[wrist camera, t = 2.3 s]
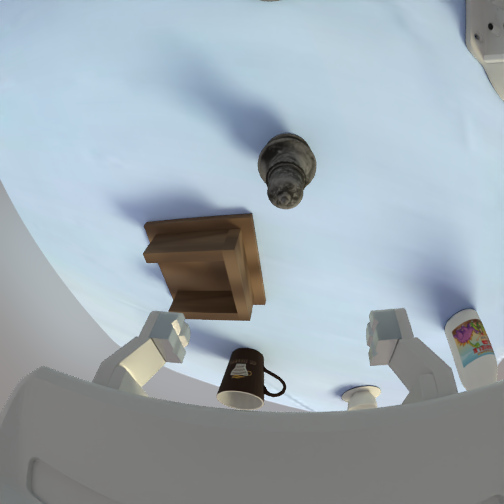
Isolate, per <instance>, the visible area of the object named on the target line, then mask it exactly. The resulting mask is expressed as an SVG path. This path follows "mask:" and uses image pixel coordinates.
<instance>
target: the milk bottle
mask: <svg viewBox="0 0 504 504" xmlns="http://www.w3.org/2000/svg"><path fill="white" fill-rule="evenodd" d="M445 334H446V337H447V340H448V343H449V346H450V349H451V352H452V355H453V358H454V362H455V365H456V368H457V371H458V374H459V377H460V380H461V382H462V384H463V386H464V388H465V389H466V390H467V391H468V390H472V389H475V388H479V387H482V386H486V385H489V384H492V383H495V382H497V361H496V357H495V354H494V351H493V349H492V346H491V343H490V341H489V338H488V336H487V334H486V331H485V329H484V327H483V324H482V322H481V320H480V318H479V316H478V314H477V312H476V311H475V310H473V309H465V310H462V311H460V312H458V313H457V314H455V315H454V316H453V317H451V318H450V319H449V321H448V322H447V324H446V326H445Z"/></svg>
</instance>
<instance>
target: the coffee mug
mask: <svg viewBox="0 0 504 504" xmlns="http://www.w3.org/2000/svg"><path fill="white" fill-rule="evenodd" d="M264 372H266V373H268V374H270V375H271V376H273V377H275V378H276V379H278V380H279V381H280V382H281V383H282V384H283V389H282V391H281V392H279V393H277V394H272V393H270V392H268V391H267V389H266V387H265V386H264ZM285 390H286V384H285V382H284V381H283V380H282V379H281V378H280V377H279V376H277V375H276V374H274V373H272V372H270V371H269V370H267V369H266V368H265V367H264V357H263V355H262V354H261V353H260V352H258V351H256V350H253V349H249V348H240V349H236V350H235V351H233V353H232V355H231V358H230V361H229V363H228V366H227V369H226V372H225V374H224V377H223V380H222V383H221V385H220V388H219V391H218V393H217V399H218V401H220V402H221V403H222V404H224V405H226V406H228V407H231V408H236V409H241V410H254V409H258V408H261V407H262V406H263V405H264V394H266V395H268V396H271V397H278V396H281V395H282V394H284V392H285Z"/></svg>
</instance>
